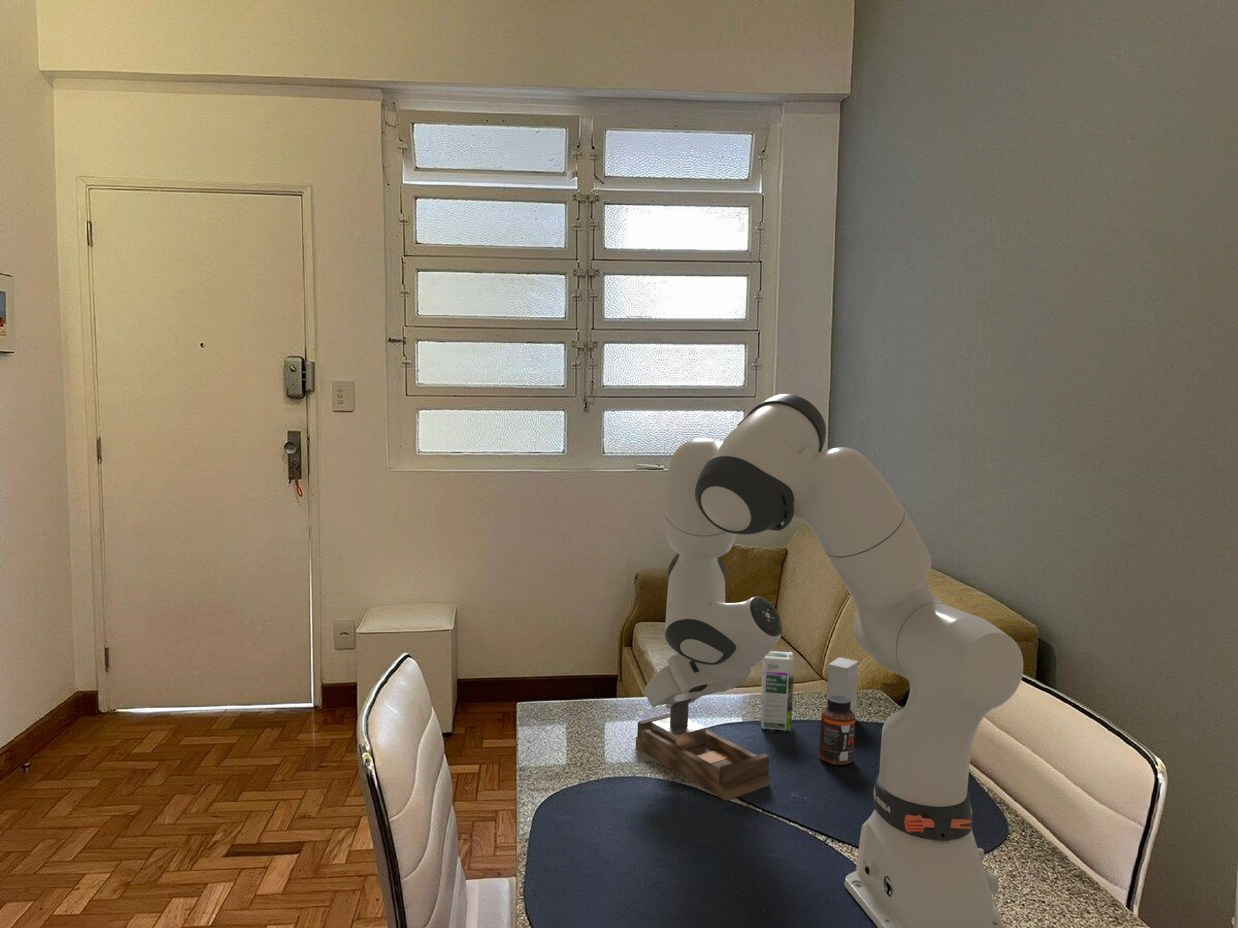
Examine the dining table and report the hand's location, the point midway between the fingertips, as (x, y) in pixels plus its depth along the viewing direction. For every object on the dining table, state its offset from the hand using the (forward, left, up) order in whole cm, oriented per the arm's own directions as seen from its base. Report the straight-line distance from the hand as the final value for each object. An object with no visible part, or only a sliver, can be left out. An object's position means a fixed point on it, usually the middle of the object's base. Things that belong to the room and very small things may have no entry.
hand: (677, 701), depth 155 cm
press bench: (-5, -4, -9) cm, 11 cm away
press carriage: (-1, 0, -7) cm, 7 cm away
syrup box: (+14, -21, -10) cm, 27 cm away
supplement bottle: (-1, -29, -10) cm, 30 cm away
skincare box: (+18, -35, -10) cm, 40 cm away
